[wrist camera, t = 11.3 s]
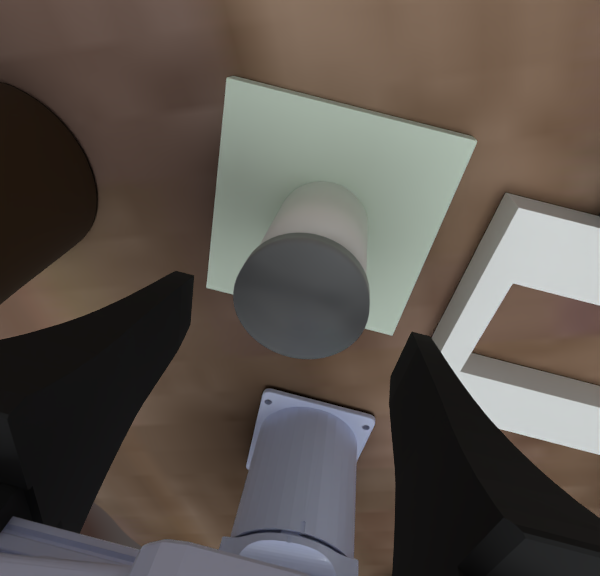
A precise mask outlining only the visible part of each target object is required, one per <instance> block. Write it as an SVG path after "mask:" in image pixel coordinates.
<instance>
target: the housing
mask: <svg viewBox="0 0 600 576" xmlns="http://www.w3.org/2000/svg"><path fill="white" fill-rule="evenodd" d="M513 283H514V284H518V285H522V286H526V287H529V288H533V289H537V290H541V291H545V292H549V293H553V294H557V295H561V296H565V297H568V298H572V299H576V300H580V301H584V302H588V303H592V304H596V305H600V215H599V216H596V215H592V214H588V213H584V212H580V211H577V210H573V209H569V208H565V207H561V206H557V205H553V204H549V203H545V202H541V201H537V200H533V199H529V198H525V197H521V196H518V195H514V194H510V193H505V195H504V197H503V198H502V200H501V202H500V204H499V206H498V208H497V210H496V212H495V214H494V216H493V218H492V220H491V222H490V224H489V226H488V228H487V230H486V232H485V234H484V236H483V238H482V240H481V242H480V244H479V246H478V247H477V249H476V251H475V253H474V255H473V257H472V259H471V261H470V263H469V265H468V267H467V269H466V271H465V273H464V275H463V277H462V279H461V281H460V283H459V285H458V287H457V289H456V291H455V293H454V295H453V297H452V298H451V300H450V302H449V304H448V306H447V308H446V310H445V312H444V314H443V316H442V318H441V320H440V322H439V324H438V326H437V328H436V330H435V332H434V334H433V336H432V340H433V341H434V343H435V344H436V346H437V347H438V349H439V350H440V352H441V353H442V355H443V356H444V358H445V359H446V361H447V362H448V364H449V365H450V367H451V368H452V370H453V371H454V373H455V374H456V375H457V377H458V378H459V380H460V381H461V383H462V384H463V385H464V387H465V388H466V389H467V391H468V392H469V394H470V395H471V396H472V397H473V399H474V400H475V401H476V403H477V404H478V405H479V406H480V408H481V409H482V410H483V411H484V413H485V414H486V415H487V416H488V417H489V419H490V420H491V421H492V422H493V423H494V424H495V425H496V426H497V428H498V429H502V430H506V431H510V432H514V433H518V434H521V435H525V436H529V437H533V438H537V439H541V440H544V441H548V442H552V443H556V444H560V445H564V446H568V447H571V448H575V449H579V450H583V451H587V452H591V453H595V454H598V455H600V386H598V385H594V384H590V383H586V382H583V381H579V380H575V379H571V378H567V377H563V376H559V375H555V374H552V373H548V372H544V371H540V370H536V369H532V368H528V367H524V366H521V365H517V364H513V363H509V362H505V361H501V360H497V359H493V358H490V357H486V356H482V355H478V354H474V353H471V352H472V351H473V349H474V347H475V346H476V344H477V342H478V341H479V339H480V337H481V336H482V334H483V332H484V331H485V329H486V327H487V325H488V324H489V322H490V320H491V319H492V317H493V315H494V314H495V312H496V310H497V309H498V307H499V305H500V304H501V302H502V300H503V299H504V297H505V295H506V294H507V292H508V290H509V289H510V287H511V285H512V284H513Z"/></svg>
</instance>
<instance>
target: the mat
mask: <svg viewBox="0 0 600 576" xmlns="http://www.w3.org/2000/svg"><path fill="white" fill-rule="evenodd" d="M476 144H477V140H476V139H475V138H474V137H473V136H470V135H466V134H462V133H458V132H454V131H450V130H446V129H442V128H438V127H434V126H430V125H426V124H422V123H418V122H414V121H411V120H407V119H403V118H399V117H395V116H391V115H387V114H383V113H379V112H375V111H371V110H367V109H363V108H359V107H355V106H351V105H347V104H343V103H339V102H335V101H332V100H328V99H324V98H320V97H316V96H312V95H308V94H304V93H300V92H296V91H292V90H288V89H284V88H280V87H276V86H272V85H268V84H264V83H260V82H256V81H253V80H249V79H245V78H241V77H237V76H230V77H227V80H226V90H225V100H224V111H223V121H222V131H221V142H220V152H219V162H218V172H217V183H216V193H215V203H214V214H213V224H212V234H211V245H210V255H209V265H208V276H207V286H206V288H209V289H213V290H217V291H221V292H225V293H229V294H233V291H234V284H235V281H236V278H237V276H238V274H239V272H240V270H241V269H242V267H243V265H244V263H245V262H246V260H247V258H248V257H249V256H250V254H251V253H252V252H253V251H254V250H255V249H256V248H257V247H258V246H259V245H260V243H261V242H262V240H263V238H264V236H265V234H266V233H267V231H268V229H269V227H270V225H271V224H272V222H273V220H274V218H275V217H276V215H277V213H278V211H279V209H280V208H281V206H282V204H283V202H284V201H285V199H286V198H287V197H288V196H289V194H290V193H292V192H293V191H294V190H295V189H297V188H299V187H300V186H302V185H305V184H308V183H312V182H331V183H335V184H338V185H341V186H343V187H345V188H346V189H348V190H349V191H351V192H352V193H353V194H354V195H355V196H356V197H357V198H358V199H359V200H360V202H361V203H362V205H363V207H364V209H365V211H366V215H367V219H368V238H367V266H366V276H367V279H368V283H369V289H370V307H369V317H368V321H367V324H366V326H365V329H368V330H372V331H376V332H380V333H384V334H388V335H393V333H394V331H395V328H396V326H397V324H398V322H399V319H400V317H401V315H402V312H403V310H404V308H405V306H406V303H407V301H408V299H409V296H410V294H411V292H412V290H413V287H414V285H415V283H416V280H417V278H418V276H419V274H420V271H421V269H422V267H423V265H424V262H425V260H426V258H427V255H428V253H429V251H430V249H431V246H432V244H433V242H434V239H435V237H436V235H437V233H438V230H439V228H440V226H441V223H442V221H443V219H444V217H445V214H446V212H447V210H448V207H449V205H450V203H451V201H452V198H453V196H454V194H455V191H456V189H457V187H458V185H459V182H460V180H461V178H462V176H463V173H464V171H465V169H466V166H467V164H468V162H469V160H470V157H471V155H472V153H473V150H474V148H475V146H476Z"/></svg>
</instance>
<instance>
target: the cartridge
mask: <svg viewBox="0 0 600 576" xmlns="http://www.w3.org/2000/svg"><path fill="white" fill-rule="evenodd" d="M367 238H368V219H367V215H366V211H365V209H364V207H363V205H362V203H361V202H360V200H359V199H358V198H357V197H356V196H355V195H354V194H353V193H352V192H351V191H349V190H348V189H346V188H345V187H343V186H341V185H338V184H335V183H331V182H312V183H308V184H305V185H302V186H300V187H299V188H297V189H295V190H294V191H293V192H292V193H290V194H289V196H288V197H287V198H286V199H285V201H284V202H283V204H282V206H281V208H280V209H279V211H278V213H277V215H276V217H275V218H274V220H273V222H272V224H271V225H270V227H269V229H268V231H267V233H266V234H265V236H264V238H263V240H262V242H261V243H260V245H259V246H258V247H257V248H256V249H255V250H254V251H253V252H252V253H251V254H250V256H249V257H248V258H247V260H246V262H245V263H244V265H243V267H242V269H241V270H240V272H239V274H238V276H237V278H236V281H235V284H234V291H233V301H234V307H235V310H236V314H237V316H238V318H239V320H240V322H241V324H242V325H243V327H244V328H245V329H246V331H247V332H248V333H249V334H250V335H251V336H252V337H253V338H254V339H255V340H256V341H258V342H259V343H260V344H261V345H263V346H265V347H266V348H268V349H270V350H272V351H274V352H276V353H279V354H281V355H284V356H288V357H292V358H298V359H318V358H324V357H328V356H331V355H334V354H337V353H339V352H341V351H343V350H345V349H346V348H348V347H349V346H350V345H352V344H353V343H354V342H355V341H356V340H357V339H358V338H359V336H360V335H361V334H362V332H363V330H364V329H365V326H366V324H367V321H368V317H369V307H370V289H369V283H368V279H367V276H366V266H367Z"/></svg>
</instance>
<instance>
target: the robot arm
mask: <svg viewBox="0 0 600 576" xmlns="http://www.w3.org/2000/svg"><path fill="white" fill-rule="evenodd" d="M193 282H194V275H190V274H186V273H182V272H178V271H175V272H173V273H171V274H169V275H167V276H165V277H163V278H161V279H160V280H158V281H156V282H154V283H152V284H150V285H149V286H147V287H145V288H143V289H141V290H139V291H137V292H135V293H133V294H131V295H130V296H128V297H126V298H123V299H121V300H119V301H117V302H115V303H113V304H110V305H108V306H106V307H104V308H102V309H100V310H97V311H95V312H92V313H90V314H87V315H85V316H82V317H79V318H76V319H74V320H71V321H68V322H65V323H62V324H59V325H55V326H52V327H48V328H45V329H42V330H38V331H35V332H31V333H28V334H24V335H19V336H15V337H11V338H7V339H2V340H0V576H358V560H357V559H354V532H355V498H356V463H357V460H358V458H359V456H360V454H361V452H362V450H363V448H364V446H365V444H366V442H367V440H368V438H369V436H370V433H371V431H372V429H373V427H374V425H375V417H374V416H373V415H371V414H367V413H363V412H360V411H356V410H352V409H348V408H344V407H340V406H336V405H333V404H329V403H325V402H321V401H317V400H313V399H309V398H306V397H302V396H298V395H294V394H290V393H286V392H283V391H279V390H275V389H270V388H268V389H265V390H264V392H263V395H262V399H261V403H260V408H259V412H258V416H257V421H256V425H255V429H254V434H253V438H252V442H251V447H250V451H249V455H248V460H247V464H246V468H247V469H248V470H249V471H248V475H247V478H246V482H245V486H244V489H243V493H242V497H241V500H240V504H239V507H238V511H237V515H236V518H235V522H234V526H233V529H232V533H231V536H230V537H222V541H221V544H220V547H219V550H218V549H214V548H210V547H206V546H202V545H199V544H195V543H191V542H186V541H178V540H170V539H164V540H159V541H155V542H150V543H148V544H146V545H143V546H142V548H141V550H139V549H135V548H131V547H127V546H124V545H120V544H116V543H112V542H109V541H104V540H101V539H97V538H93V537H89V536H86V535H82V534H80V531H81V529H82V527H83V525H84V522H85V520H86V518H87V515H88V513H89V511H90V509H91V506H92V504H93V502H94V500H95V498H96V496H97V494H98V491H99V489H100V487H101V485H102V483H103V481H104V479H105V476H106V474H107V472H108V470H109V468H110V466H111V464H112V462H113V460H114V458H115V456H116V454H117V452H118V450H119V448H120V446H121V444H122V442H123V440H124V438H125V436H126V434H127V432H128V430H129V428H130V426H131V424H132V422H133V420H134V418H135V417H136V415H137V413H138V411H139V410H140V408H141V406H142V405H143V403H144V401H145V400H146V398H147V397H148V395H149V394H150V392H151V391H152V389H153V388H154V386H155V385H156V383H157V382H158V380H159V379H160V377H161V376H162V374H163V373H164V371H165V370H166V368H167V367H168V365H169V363H170V362H171V360H172V359H173V357H174V356H175V354H176V353H177V351H178V349H179V347H180V345H181V343H182V341H183V339H184V337H185V335H186V333H187V331H188V329H189V326H190V322H191V309H192V296H193ZM267 399H268V400H267ZM389 408H390V420H391V432H392V442H393V453H394V464H395V481H396V488H395V531H394V554H393V572H392V576H600V518H599V517H597V516H596V515H595V514H593V513H592V512H591V511H589V510H588V509H587V508H585V507H584V506H582V505H581V504H580V503H578V502H577V501H576V500H575V499H573V498H572V497H571V496H570V495H569V494H567V493H566V492H565V491H564V490H563V489H561V488H560V487H559V486H558V485H557V484H555V483H554V482H553V481H552V480H551V479H550V478H548V477H547V476H546V475H545V474H544V473H543V472H542V471H540V470H539V469H538V468H537V467H536V466H535V465H534V464H533V463H532V462H531V461H530V460H529V459H528V458H527V457H526V456H525V455H523V454H522V453H521V452H520V451H519V450H518V449H517V448H516V447H515V446H514V445H513V444H512V443H511V442H510V441H509V440H508V439H507V437H506V436H505V435H504V434H503V433H502V432H501V431H500V430H499V429H498V428H497V426H496V425H495V424H494V423H493V422H492V421H491V420H490V419H489V417H488V416H487V415H486V414H485V413H484V411H483V410H482V409H481V408H480V406H479V405H478V404H477V403H476V401H475V400H474V399H473V397H472V396H471V395H470V394H469V392H468V391H467V389H466V388H465V387H464V385H463V384H462V383H461V381H460V380H459V378H458V377H457V375H456V374H455V373H454V371H453V370H452V368H451V367H450V365H449V364H448V362H447V361H446V359H445V358H444V356H443V355H442V353H441V352H440V350H439V349H438V347H437V346H436V344H435V343H434V341H433V340H432V338H431V337H430V336H426V335H422V334H418V333H415V332H411V334H410V336H409V338H408V341H407V343H406V345H405V347H404V349H403V351H402V353H401V355H400V358H399V360H398V362H397V364H396V366H395V368H394V370H393V372H392V375H391V379H390V398H389Z"/></svg>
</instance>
